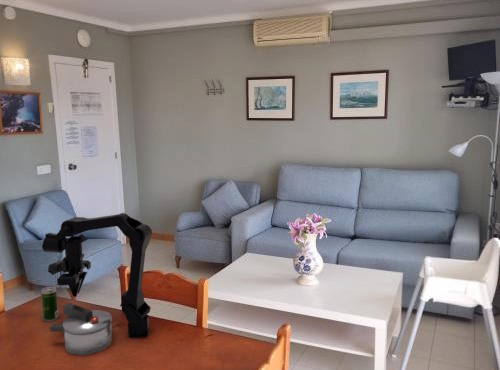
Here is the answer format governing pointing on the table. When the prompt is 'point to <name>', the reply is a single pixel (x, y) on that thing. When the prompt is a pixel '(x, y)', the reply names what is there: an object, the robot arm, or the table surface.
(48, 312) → the beer can
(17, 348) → the table surface
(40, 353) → the table surface
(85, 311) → the cooker lid
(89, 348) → the cooker pot
